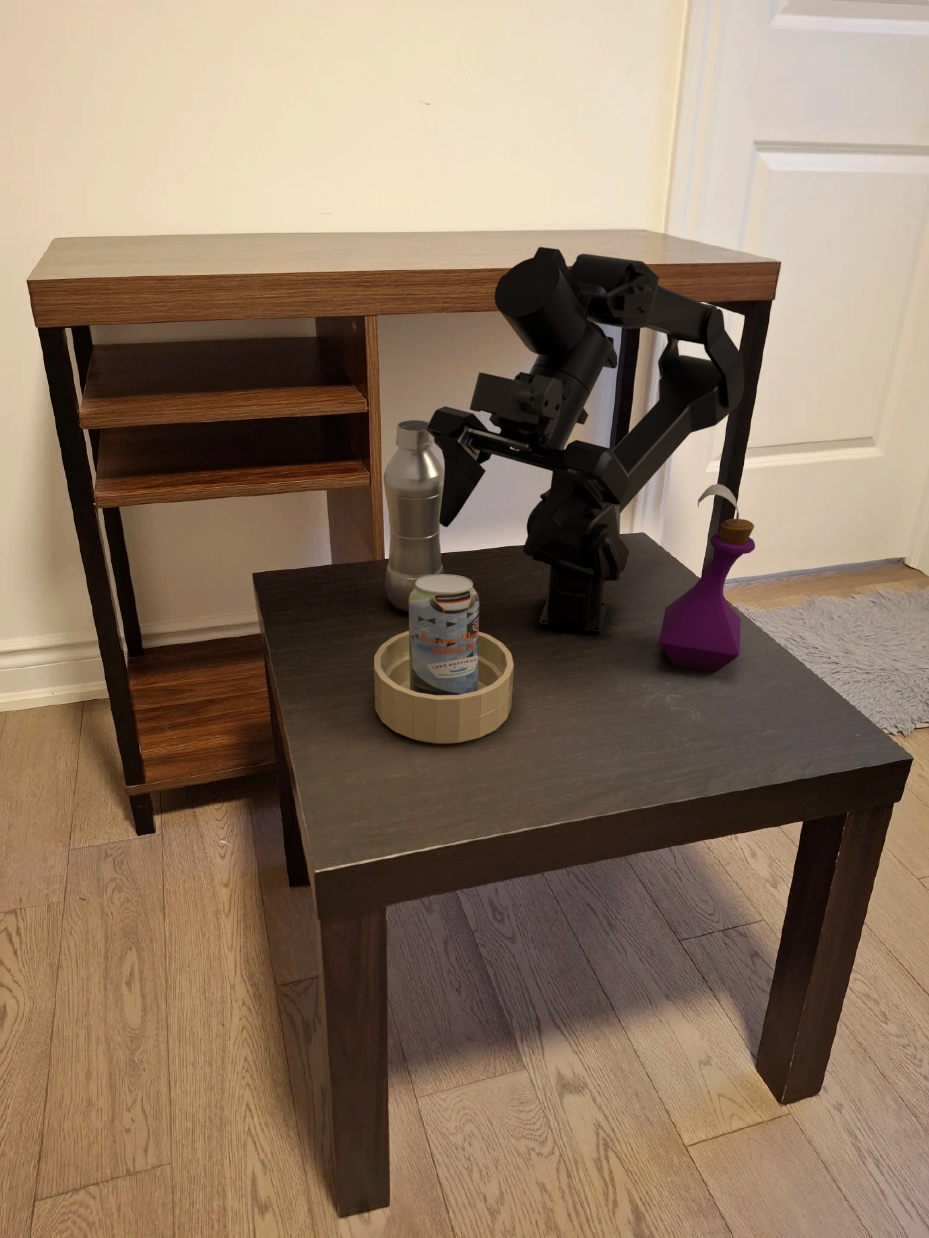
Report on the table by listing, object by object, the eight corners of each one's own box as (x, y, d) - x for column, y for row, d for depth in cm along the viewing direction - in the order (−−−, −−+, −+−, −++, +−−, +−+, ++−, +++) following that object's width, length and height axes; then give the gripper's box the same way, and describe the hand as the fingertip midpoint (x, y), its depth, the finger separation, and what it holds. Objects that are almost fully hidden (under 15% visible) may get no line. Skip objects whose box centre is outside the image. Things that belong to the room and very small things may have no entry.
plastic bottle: (445, 591, 105) (448, 416, 95) (443, 620, 99) (446, 437, 89) (388, 589, 105) (385, 414, 95) (382, 619, 99) (378, 435, 89)
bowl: (398, 663, 91) (398, 618, 89) (522, 681, 89) (524, 636, 87) (356, 734, 81) (354, 686, 79) (494, 758, 79) (496, 708, 76)
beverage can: (418, 730, 81) (418, 608, 75) (400, 685, 87) (399, 568, 81) (488, 720, 82) (493, 599, 77) (465, 676, 89) (468, 561, 83)
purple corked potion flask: (735, 646, 96) (767, 479, 87) (733, 684, 89) (767, 508, 81) (661, 635, 97) (685, 470, 89) (654, 671, 91) (679, 498, 82)
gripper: (436, 315, 82) (356, 473, 80) (622, 351, 72) (535, 531, 70) (491, 383, 91) (420, 525, 90) (662, 422, 81) (586, 583, 80)
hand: (483, 539), depth 82 cm, fingers open, 9 cm apart
